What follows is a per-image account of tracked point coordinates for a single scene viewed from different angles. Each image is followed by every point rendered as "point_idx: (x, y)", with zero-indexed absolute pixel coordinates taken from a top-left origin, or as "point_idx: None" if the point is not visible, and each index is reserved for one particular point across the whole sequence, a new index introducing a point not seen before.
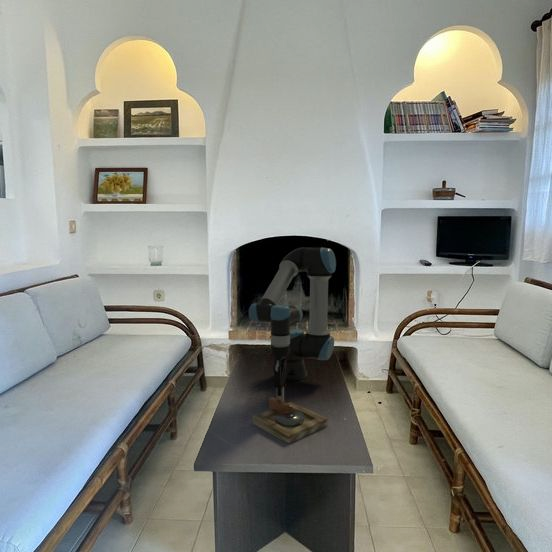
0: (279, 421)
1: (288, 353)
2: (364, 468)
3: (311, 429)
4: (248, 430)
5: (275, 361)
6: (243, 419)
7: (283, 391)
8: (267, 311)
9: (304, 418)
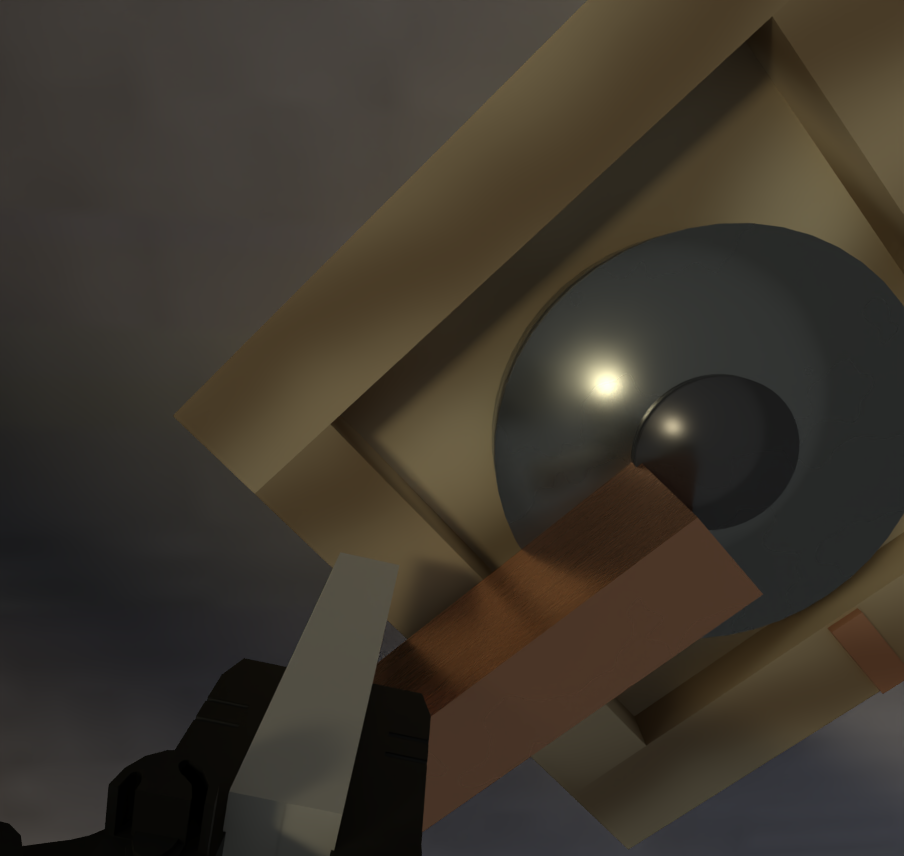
0: (825, 581)
1: None
2: None
3: None
4: (730, 797)
5: None
6: (504, 846)
7: (327, 702)
8: None
9: (636, 226)
